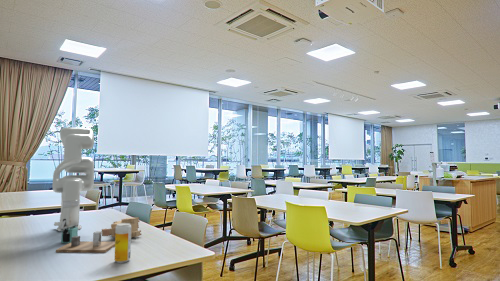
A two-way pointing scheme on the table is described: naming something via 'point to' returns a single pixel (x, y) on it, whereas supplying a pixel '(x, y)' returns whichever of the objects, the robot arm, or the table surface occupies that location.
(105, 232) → the toy
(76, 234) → the teal block
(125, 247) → the beer can
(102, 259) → the table surface
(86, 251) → the stand
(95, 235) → the tall post
